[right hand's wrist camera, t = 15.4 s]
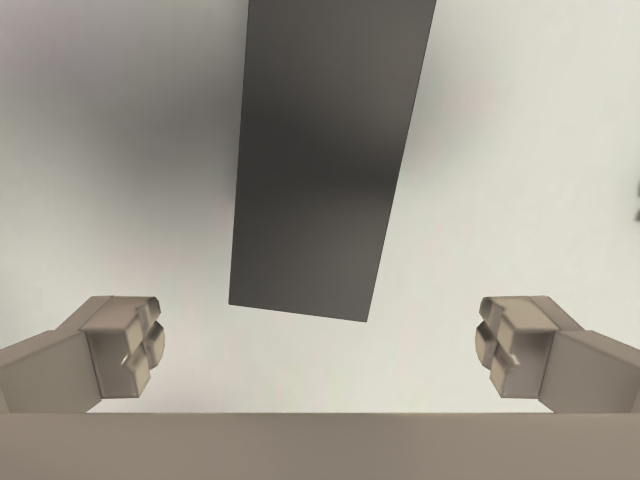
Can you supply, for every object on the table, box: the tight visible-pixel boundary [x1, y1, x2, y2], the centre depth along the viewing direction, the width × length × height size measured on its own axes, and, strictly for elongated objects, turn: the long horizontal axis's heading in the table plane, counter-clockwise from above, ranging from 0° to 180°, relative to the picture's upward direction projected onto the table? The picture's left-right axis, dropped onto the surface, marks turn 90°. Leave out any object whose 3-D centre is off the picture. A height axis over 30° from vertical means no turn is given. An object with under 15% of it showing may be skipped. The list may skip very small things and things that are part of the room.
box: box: [229, 0, 436, 322], centre depth 19 cm, size 25×6×11 cm, turn 172°
